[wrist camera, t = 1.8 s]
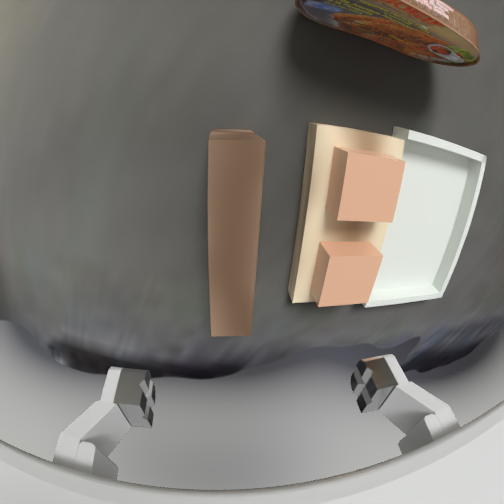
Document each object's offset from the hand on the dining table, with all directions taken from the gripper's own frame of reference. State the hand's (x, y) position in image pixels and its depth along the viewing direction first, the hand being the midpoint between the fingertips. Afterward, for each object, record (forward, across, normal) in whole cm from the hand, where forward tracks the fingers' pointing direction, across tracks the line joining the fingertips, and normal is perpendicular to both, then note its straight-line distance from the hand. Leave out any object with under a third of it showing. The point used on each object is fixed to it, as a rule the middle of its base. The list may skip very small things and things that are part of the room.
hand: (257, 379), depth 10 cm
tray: (+16, -19, 0) cm, 25 cm away
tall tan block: (+16, +1, 0) cm, 16 cm away
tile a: (+14, -9, -4) cm, 17 cm away
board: (+16, -9, 0) cm, 18 cm away
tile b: (+14, -9, +4) cm, 17 cm away
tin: (+16, -10, -18) cm, 26 cm away
